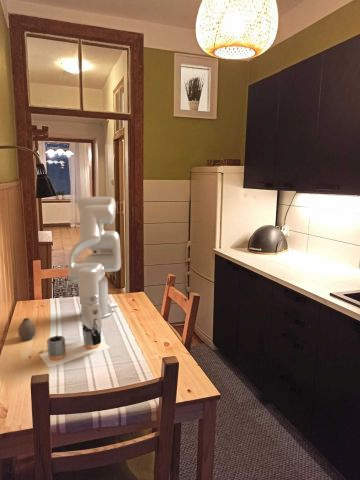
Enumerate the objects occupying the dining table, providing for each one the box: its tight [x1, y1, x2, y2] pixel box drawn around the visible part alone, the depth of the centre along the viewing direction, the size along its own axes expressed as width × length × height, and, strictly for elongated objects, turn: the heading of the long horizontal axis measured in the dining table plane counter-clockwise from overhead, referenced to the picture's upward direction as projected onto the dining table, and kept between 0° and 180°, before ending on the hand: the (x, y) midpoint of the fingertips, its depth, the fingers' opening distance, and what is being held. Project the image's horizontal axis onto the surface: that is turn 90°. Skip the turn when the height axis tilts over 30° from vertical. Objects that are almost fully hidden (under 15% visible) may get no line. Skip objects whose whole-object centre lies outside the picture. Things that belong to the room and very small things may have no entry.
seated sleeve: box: [46, 335, 66, 361], centre depth 131 cm, size 6×6×7 cm
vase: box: [17, 317, 37, 341], centre depth 150 cm, size 7×7×9 cm
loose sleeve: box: [82, 326, 100, 349], centre depth 139 cm, size 6×6×7 cm
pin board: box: [38, 331, 111, 368], centre depth 135 cm, size 24×12×8 cm, turn 127°
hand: (91, 339), depth 140 cm, fingers open, 9 cm apart
